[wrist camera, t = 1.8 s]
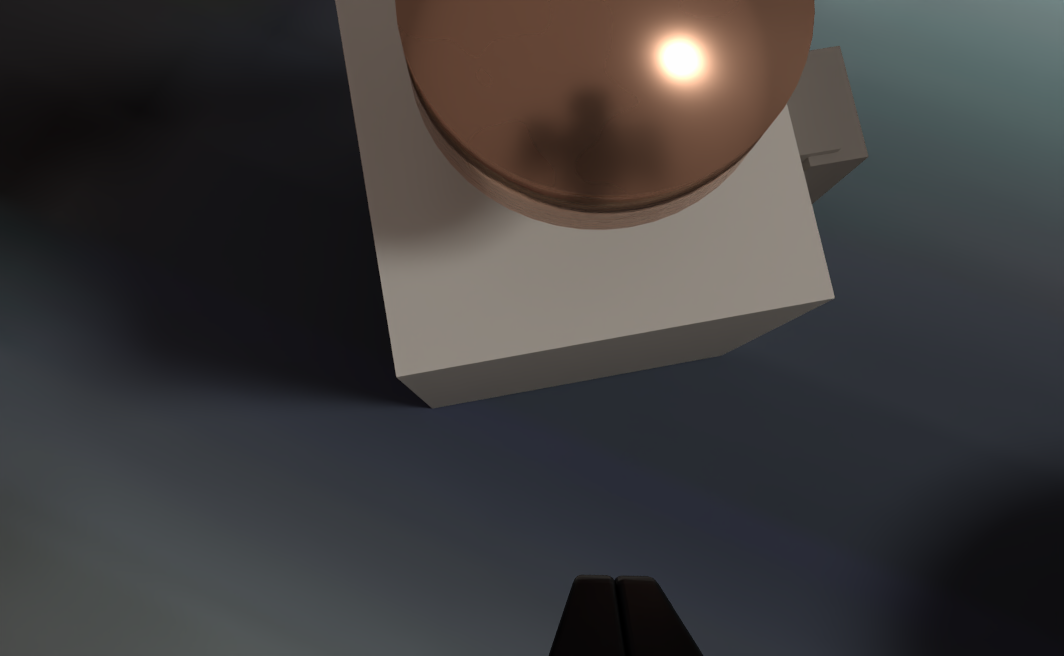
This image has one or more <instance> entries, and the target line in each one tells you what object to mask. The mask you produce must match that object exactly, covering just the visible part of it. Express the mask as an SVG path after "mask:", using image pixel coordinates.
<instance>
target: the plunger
mask: <svg viewBox="0 0 1064 656" xmlns="http://www.w3.org/2000/svg"><path fill="white" fill-rule="evenodd" d="M395 6H396V16H397V25H398V30H399V34H400V38H401V42H402V47H403V51H404V55H405V60H406V64H407V68H408V73H409V77H410V81H411V85H412V89H413V93H414V97H415V101H416V104H417V107H418V109H419V112H420V114H421V117H422V119H423V122H424V124H425V126H426V128H427V130H428V131H429V133H430V135H431V137H432V138H433V140H434V142H435V144H436V145H437V147H438V148H439V149H440V151H441V152H442V153H443V155H444V156H445V157H446V158H447V160H448V161H449V162H450V164H451V165H452V166H453V167H454V168H455V169H456V170H457V171H458V172H459V173H460V174H461V175H462V176H463V177H464V178H465V179H466V180H467V181H468V182H469V183H471V184H472V185H473V186H475V187H476V188H477V189H478V190H480V191H481V192H482V193H484V194H485V195H486V196H488V197H489V198H491V199H493V200H494V201H496V202H498V203H499V204H501V205H503V206H505V207H506V208H508V209H510V210H512V211H515V212H517V213H519V214H522V215H524V216H526V217H529V218H531V219H534V220H538V221H541V222H545V223H549V224H552V225H556V226H562V227H568V228H575V229H587V230H610V229H619V228H629V227H634V226H638V225H642V224H646V223H651V222H655V221H657V220H660V219H663V218H665V217H668V216H670V215H673V214H676V213H678V212H680V211H682V210H684V209H685V208H687V207H689V206H691V205H693V204H695V203H696V202H698V201H700V200H701V199H702V198H704V197H705V196H706V195H708V194H709V193H711V192H712V191H713V190H715V189H716V188H717V187H718V186H719V185H721V184H722V183H723V182H724V181H725V180H726V179H727V178H728V177H729V176H730V175H731V174H732V173H733V172H734V171H735V170H736V168H737V167H738V166H739V165H740V163H741V162H742V161H743V160H744V158H745V157H746V156H747V155H748V153H749V152H750V151H751V149H752V148H753V147H754V146H755V144H756V143H757V142H758V141H759V139H760V138H761V137H762V136H763V134H764V133H765V132H766V131H767V129H768V128H769V127H770V125H771V124H772V123H773V122H774V120H775V119H776V118H777V116H778V115H779V114H780V113H781V111H782V110H783V109H784V107H785V106H786V104H787V102H788V100H789V99H790V97H791V95H792V93H793V92H794V90H795V88H796V86H797V84H798V82H799V79H800V77H801V74H802V72H803V69H804V67H805V64H806V61H807V57H808V53H809V49H810V45H811V41H812V35H813V25H814V14H815V8H814V0H395Z"/></svg>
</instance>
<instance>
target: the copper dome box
mask: <svg viewBox="0 0 1064 656" xmlns="http://www.w3.org/2000/svg"><path fill="white" fill-rule="evenodd" d="M335 2H336V8H337V14H338V20H339V26H340V33H341V39H342V45H343V51H344V57H345V63H346V70H347V76H348V82H349V88H350V94H351V100H352V107H353V113H354V119H355V125H356V131H357V137H358V144H359V150H360V156H361V162H362V168H363V174H364V181H365V187H366V193H367V199H368V205H369V211H370V218H371V224H372V230H373V236H374V242H375V248H376V255H377V261H378V267H379V273H380V279H381V285H382V292H383V298H384V304H385V310H386V316H387V322H388V329H389V335H390V341H391V347H392V353H393V359H394V365H395V372H396V377H397V378H398V379H399V380H400V381H401V382H403V383H404V384H405V385H406V386H407V387H408V388H409V389H411V390H412V391H413V392H414V393H415V394H416V395H417V396H419V397H420V398H421V399H422V400H423V401H424V402H425V403H427V404H428V405H429V406H430V407H431V408H438V407H443V406H449V405H454V404H460V403H465V402H471V401H476V400H481V399H487V398H492V397H498V396H503V395H509V394H514V393H520V392H525V391H531V390H536V389H542V388H547V387H552V386H558V385H563V384H569V383H574V382H580V381H585V380H591V379H596V378H602V377H607V376H612V375H618V374H623V373H629V372H634V371H640V370H645V369H651V368H656V367H662V366H667V365H673V364H678V363H683V362H689V361H694V360H700V359H705V358H711V357H716V356H721V355H723V354H725V353H727V352H729V351H731V350H733V349H735V348H737V347H739V346H741V345H743V344H745V343H747V342H749V341H751V340H753V339H755V338H757V337H759V336H761V335H763V334H765V333H767V332H769V331H771V330H773V329H775V328H777V327H779V326H781V325H783V324H785V323H787V322H789V321H791V320H793V319H795V318H797V317H799V316H801V315H802V314H804V313H806V312H808V311H810V310H812V309H814V308H816V307H818V306H820V305H822V304H824V303H826V302H828V301H830V300H832V299H834V298H835V297H834V293H833V289H832V285H831V281H830V277H829V273H828V268H827V264H826V260H825V256H824V252H823V248H822V244H821V240H820V236H819V232H818V228H817V224H816V220H815V216H814V212H813V208H812V204H813V203H814V202H815V201H817V200H818V199H819V198H820V197H821V196H822V195H824V194H825V193H826V192H827V191H828V190H830V189H831V188H832V187H833V186H834V185H835V184H837V183H838V182H839V181H840V180H841V179H843V178H844V177H845V176H846V175H847V174H849V173H850V172H851V171H852V170H853V169H854V168H856V167H857V166H858V165H859V164H860V163H862V162H863V161H864V160H865V159H866V158H868V153H867V149H866V145H865V141H864V138H863V134H862V130H861V126H860V122H859V118H858V114H857V111H856V107H855V103H854V99H853V95H852V91H851V87H850V84H849V80H848V76H847V72H846V68H845V64H844V61H843V57H842V53H841V49H840V46H836V47H829V48H823V49H817V50H811V51H809V53H808V57H807V61H806V64H805V67H804V69H803V72H802V74H801V77H800V79H799V82H798V84H797V86H796V88H795V90H794V92H793V93H792V95H791V97H790V99H789V100H788V102H787V104H786V106H785V107H784V109H783V110H782V111H781V113H780V114H779V115H778V116H777V118H776V119H775V120H774V122H773V123H772V124H771V125H770V127H769V128H768V129H767V131H766V132H765V133H764V134H763V136H762V137H761V138H760V139H759V141H758V142H757V143H756V144H755V146H754V147H753V148H752V149H751V151H750V152H749V153H748V155H747V156H746V157H745V158H744V160H743V161H742V162H741V163H740V165H739V166H738V167H737V168H736V170H735V171H734V172H733V173H732V174H731V175H730V176H729V177H728V178H727V179H726V180H725V181H724V182H723V183H722V184H721V185H719V186H718V187H717V188H716V189H715V190H713V191H712V192H711V193H709V194H708V195H706V196H705V197H704V198H702V199H701V200H700V201H698V202H696V203H695V204H693V205H691V206H689V207H687V208H685V209H684V210H682V211H680V212H678V213H676V214H673V215H670V216H668V217H665V218H663V219H660V220H657V221H655V222H651V223H646V224H642V225H638V226H634V227H629V228H619V229H610V230H587V229H575V228H568V227H562V226H556V225H552V224H549V223H545V222H541V221H538V220H534V219H531V218H529V217H526V216H524V215H522V214H519V213H517V212H515V211H512V210H510V209H508V208H506V207H505V206H503V205H501V204H499V203H498V202H496V201H494V200H493V199H491V198H489V197H488V196H486V195H485V194H484V193H482V192H481V191H480V190H478V189H477V188H476V187H475V186H473V185H472V184H471V183H469V182H468V181H467V180H466V179H465V178H464V177H463V176H462V175H461V174H460V173H459V172H458V171H457V170H456V169H455V168H454V167H453V166H452V165H451V164H450V162H449V161H448V160H447V158H446V157H445V156H444V155H443V153H442V152H441V151H440V149H439V148H438V147H437V145H436V144H435V142H434V140H433V138H432V137H431V135H430V133H429V131H428V130H427V128H426V126H425V124H424V122H423V119H422V117H421V114H420V112H419V109H418V107H417V104H416V101H415V97H414V93H413V89H412V85H411V81H410V77H409V73H408V68H407V64H406V60H405V55H404V51H403V47H402V42H401V38H400V34H399V30H398V25H397V16H396V6H395V0H335Z"/></svg>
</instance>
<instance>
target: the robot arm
mask: <svg viewBox="0 0 1064 656" xmlns="http://www.w3.org/2000/svg"><path fill="white" fill-rule="evenodd" d="M549 656H703V654H702V653H701V651H700V650H699V648H698V646H697V645H696V643H695V642H694V640H693V638H692V637H691V635H690V634H689V632H688V630H687V629H686V627H685V626H684V624H683V622H682V621H681V619H680V618H679V616H678V614H677V613H676V611H675V610H674V608H673V606H672V605H671V603H670V602H669V600H668V598H667V597H666V595H665V594H664V592H663V590H662V589H661V587H660V586H659V584H658V583H657V582H656V581H655V580H654V579H653V578H651V577H648V576H618V577H617V578H616V579H615V580H614V579H613V578H612V577H610V576H607V575H579V576H577V577H576V578H575V579H574V582H573V584H572V587H571V590H570V593H569V596H568V599H567V602H566V605H565V608H564V611H563V614H562V617H561V620H560V623H559V626H558V629H557V632H556V635H555V638H554V641H553V644H552V647H551V650H550V653H549Z"/></svg>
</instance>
